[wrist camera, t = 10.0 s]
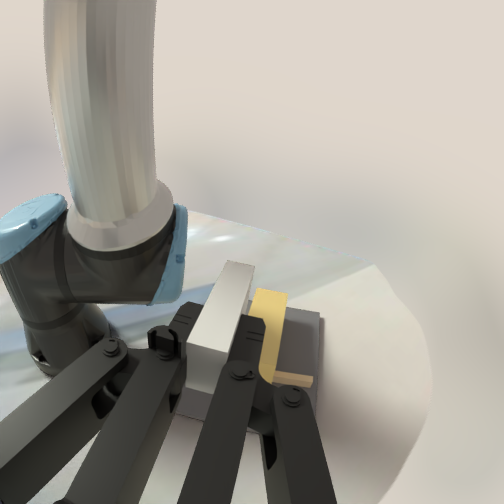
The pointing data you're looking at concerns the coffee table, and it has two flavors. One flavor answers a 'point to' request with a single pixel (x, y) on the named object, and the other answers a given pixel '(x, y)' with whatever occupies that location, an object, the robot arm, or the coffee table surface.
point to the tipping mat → (288, 363)
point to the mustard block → (269, 327)
